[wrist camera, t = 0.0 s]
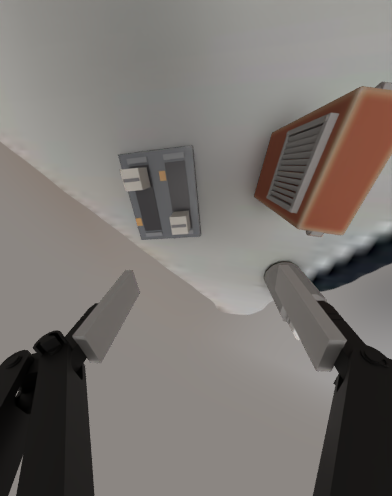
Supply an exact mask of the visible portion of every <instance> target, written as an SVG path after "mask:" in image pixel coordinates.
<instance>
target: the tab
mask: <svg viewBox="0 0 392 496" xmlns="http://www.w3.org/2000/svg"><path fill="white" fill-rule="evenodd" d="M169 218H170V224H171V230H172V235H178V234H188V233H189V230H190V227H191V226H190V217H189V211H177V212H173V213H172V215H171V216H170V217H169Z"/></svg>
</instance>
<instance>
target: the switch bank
mask: <svg viewBox="0 0 392 496" xmlns="http://www.w3.org/2000/svg"><path fill="white" fill-rule="evenodd" d="M118 156H119V160H120V163H121V167H122V170H123V169H131V168H144V167H147V172H148V177H149V181H150V186H151V187H149V188H147V189H144V190H137V191H128V192H129V196H130V200H131V203H132V207H133V211H134V214H135V218H136V222H137V225H138V229H139V232H140V236H141V240H147V239H164V238H181V237H197V236H201V230H200V219H199V208H198V197H197V187H196V176H195V165H194V154H193V146H192V145H191V146H183V147H175V148H167V149H159V150H152V151H144V152H136V153H128V154H120V155H118ZM177 211H189V217H190V226H191V227H190V230H189V233H188V234H178V235H172V230H171V224H170V218H169V217H170V216H171V215H172V213H173V212H177Z"/></svg>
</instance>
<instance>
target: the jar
mask: <svg viewBox="0 0 392 496" xmlns="http://www.w3.org/2000/svg"><path fill="white" fill-rule="evenodd" d="M279 265H289V266H290V268H291V269H292V270H293V271H294V273H295V274H296V275H297V277H298V278H299V279H300V280H301V282H302V283H303V284H304V286H305V287H306V288H307V289H308V291H309V292H310V293H311V295H312V296H313V297H314V298H315V300H316V301H326V302H327V300H326V299H325V297H324V296H323V295H322V294H321V293H320V292H319V290H318V289H317V288H316V287H315V286H314V285H313V283H312V282H311V281H310V280H309V279H308V278H307V276H306V275H305V274H304V273H303V272H302V271H301V269H300V268H299V267H298V266H296V265H294V264H293V263H288V262H281V263H278V264H275V265H273V266H271V267H270V268H269V270H268V271H267V272H266V274H265V278H264V280H265V282H266V284H267V287H268V289H269V291H270V293H271V295H272V297H273V300H274V302H275V304H276V306H277V308H278V310H279V312H280V315H281V316H282V318H283V320H284V321H286V322H287V323H288V324H289V326H290V328H291V330H292V332H293V334H294V336H295V338H296V339H297V340H299V341H301V340H300V338H299V336H298V334H297V332H296V330H295V329H294V327H293V325H292V323H291V321H290V319H289V317H288V315H287V313H286V311H285V309H284V307H283V305H282V303H281V301H280V299H279V297H278V295H277V293H276V291H275V285H276V279H277V273H278V266H279Z"/></svg>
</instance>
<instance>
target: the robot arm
mask: <svg viewBox="0 0 392 496" xmlns="http://www.w3.org/2000/svg"><path fill="white" fill-rule="evenodd" d="M275 291H276V293H277V295H278V297H279V299H280V301H281V303H282V305H283V307H284V309H285V311H286V313H287V315H288V317H289V319H290V321H291V323H292V325H293V327H294V329H295V330H296V332H297V334H298V336H299V338H300V340H301V342H302V344H303V346H304V348H305V350H306V352H307V354H308V356H309V358H310V360H311V362H312V364H313V366H314V368H315V369H316V371H332V368H333V367H334V366H335V367H336V369H337V371H338V372H339V374H338V376H337V378H336V380H335V382H334V384H335V385H336V386H335V391H334V396H333V401H332V405H331V410H330V415H329V420H328V425H327V430H326V435H325V440H324V444H323V449H322V454H321V459H320V464H319V469H318V473H317V478H316V484H315V488H314V493H313V496H392V360H391V359H389V358H387V357H386V356H385V355H383V354H382V353H381V352H380V351H378V350H376V349H374V348H372V347H370V346H367V345H366V344H365V343H364V342H363V341H362V340H361V339H360V338H359V337H358V335H357V334H356V333H355V332H354V331H353V330H352V328H351V327H350V326H349V325H348V324H347V323H346V322H345V321H344V319H343V318H342V317H341V316H340V315H339V313H338V312H337V311H336V310H335V309H334V307H333V306H331V305H330V304H328V303H327V302H326V301H316V300H315V298H314V297H313V296H312V295H311V293H310V292H309V291H308V289H307V288H306V287H305V286H304V284H303V283H302V282H301V280H300V279H299V278H298V277H297V275H296V274H295V273H294V271H293V270H292V269H291V268H290V266H289V265H279V266H278V273H277V279H276V285H275ZM139 294H140V291H139V288H138V285H137V282H136V279H135V275H134V272H133V270H126V271H124V273H123V274H122V275H121V276H120V277H119V279H118V280H117V281H116V282H115V284H114V285H113V286H112V287H111V289H110V290H109V291H108V292H107V294H106V295H105V296H104V297H103V298H102V300H101V301H100V302H99V303H96V304H94V305H93V306H92V307H90V308H89V309H88V310H87V311H86V313H85V314H84V316H82V317H81V319H80V320H79V321H78V322H77V323H76V324H75V326H74V327H73V328H72V329H71V330H70V331H69V333H68V334H67V335H66V336H65V337H64V336H63V334H62V333H61V332H60V331H52V332H50V333H48V334H46V335H44V336H43V337H41V338H40V339H39V340H38V341H37V342H36V343H35V345H34V347H33V349H34V350H35V351H36V352H37V353H35V354H31V353H30V352H29V351H28V350H22V351H19V352H17V353H14V354H13V355H11V356H10V357H8V358H7V359H6V360H5V361H4V362H3V363H2V364H1V365H0V496H8V495H9V492H10V489H11V486H12V484H13V481H14V478H15V475H16V473H17V470H18V467H19V465H20V462H21V459H22V456H23V460H22V466H21V472H20V477H19V483H18V489H17V494H16V496H94V486H93V485H94V484H93V470H92V456H91V442H90V429H89V414H88V401H87V386H86V373H85V365H84V361H85V360H86V358H87V359H88V360H89V362H90V363H101V362H102V360H103V359H104V357H105V355H106V353H107V351H108V350H109V348H110V346H111V344H112V343H113V341H114V339H115V337H116V335H117V334H118V331H119V330H120V328H121V326H122V324H123V322H124V321H125V319H126V317H127V315H128V314H129V312H130V310H131V308H132V306H133V304H134V303H135V301H136V299H137V297H138V295H139ZM17 391H19V392H18V394H17V396H16V393H17ZM15 396H16V397H15Z"/></svg>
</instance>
